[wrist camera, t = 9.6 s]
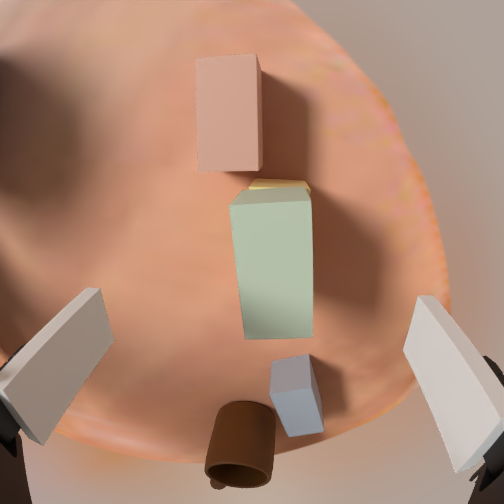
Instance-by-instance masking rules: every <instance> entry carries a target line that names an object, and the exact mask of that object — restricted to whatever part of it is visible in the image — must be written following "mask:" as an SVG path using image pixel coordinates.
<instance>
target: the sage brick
mask: <svg viewBox="0 0 504 504" xmlns="http://www.w3.org/2000/svg"><path fill="white" fill-rule="evenodd" d="M229 209H230V218H231V227H232V236H233V245H234V254H235V262H236V271H237V279H238V288H239V296H240V304H241V312H242V320H243V328H244V336H245V339H291V338H312V333H313V239H312V208H311V199H310V197H309V195H308V193H307V191H306V189H305V187H304V186H302V187H282V188H265V189H251V190H242V191H241V192H240V194H239V195H238V196H237V197H236V198H235V199H234V200H233V202H232V203H231V204H230V205H229Z"/></svg>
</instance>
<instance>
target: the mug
mask: <svg viewBox="0 0 504 504" xmlns="http://www.w3.org/2000/svg"><path fill="white" fill-rule="evenodd" d="M275 429H276V421H275V417H274V415H273V413H272V412H271V411H270V410H269V409H268V408H266V407H265V406H263V405H261V404H258V403H254V402H249V401H236V402H231V403H228V404H226V405H225V406H223V407H222V408H221V409H220V410H219V412H218V414H217V417H216V421H215V425H214V429H213V432H212V436H211V440H210V444H209V448H208V452H207V456H206V463H205V473H206V475H207V476H208V477H209V478H210V479H211V480H210V484H211V486H212V487H213V488H214V489H219V490H220V489H223V488H225V487H226V486H230V487H237V488H255V487H260V486H263V485H265V484H267V483H268V482H269V481H270V479H271V475H272V470H273V461H274V448H275Z"/></svg>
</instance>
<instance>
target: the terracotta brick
mask: <svg viewBox="0 0 504 504" xmlns="http://www.w3.org/2000/svg"><path fill="white" fill-rule="evenodd" d="M196 130H197V159H198V172H221V171H259V170H260V169H261V168H262V166H263V115H262V71H261V67H260V64H259V61H258V58H257V55H256V54H239V55H225V56H214V57H205V58H197V59H196Z"/></svg>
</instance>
